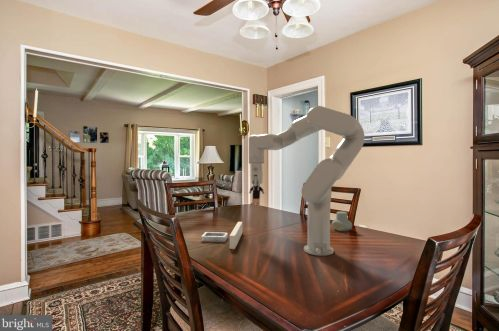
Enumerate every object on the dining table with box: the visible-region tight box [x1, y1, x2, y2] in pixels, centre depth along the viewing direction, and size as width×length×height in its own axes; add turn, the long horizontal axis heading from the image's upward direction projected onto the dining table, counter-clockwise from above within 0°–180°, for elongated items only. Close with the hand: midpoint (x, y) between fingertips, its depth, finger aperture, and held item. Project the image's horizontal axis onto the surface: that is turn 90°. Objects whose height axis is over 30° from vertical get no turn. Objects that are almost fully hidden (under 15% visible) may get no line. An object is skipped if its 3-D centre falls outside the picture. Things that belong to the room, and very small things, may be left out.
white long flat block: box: [229, 221, 243, 250], centre depth 135 cm, size 26×2×6 cm, turn 174°
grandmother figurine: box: [248, 183, 265, 206], centre depth 133 cm, size 8×4×13 cm, turn 83°
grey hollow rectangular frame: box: [200, 231, 229, 243], centre depth 136 cm, size 8×12×2 cm, turn 84°
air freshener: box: [331, 211, 353, 232], centre depth 153 cm, size 11×8×10 cm
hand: (256, 197), depth 133 cm, fingers closed on grandmother figurine, 3 cm apart
